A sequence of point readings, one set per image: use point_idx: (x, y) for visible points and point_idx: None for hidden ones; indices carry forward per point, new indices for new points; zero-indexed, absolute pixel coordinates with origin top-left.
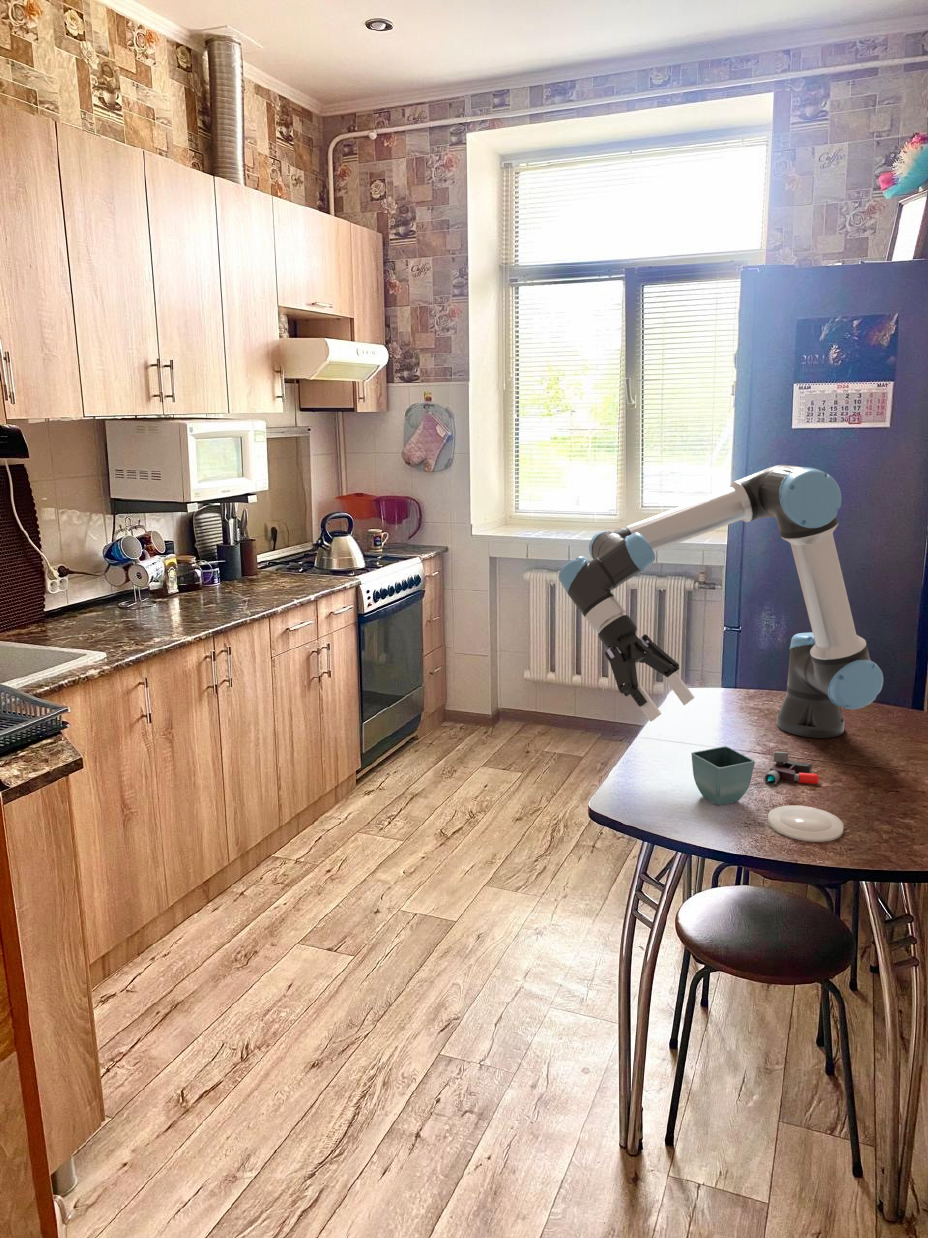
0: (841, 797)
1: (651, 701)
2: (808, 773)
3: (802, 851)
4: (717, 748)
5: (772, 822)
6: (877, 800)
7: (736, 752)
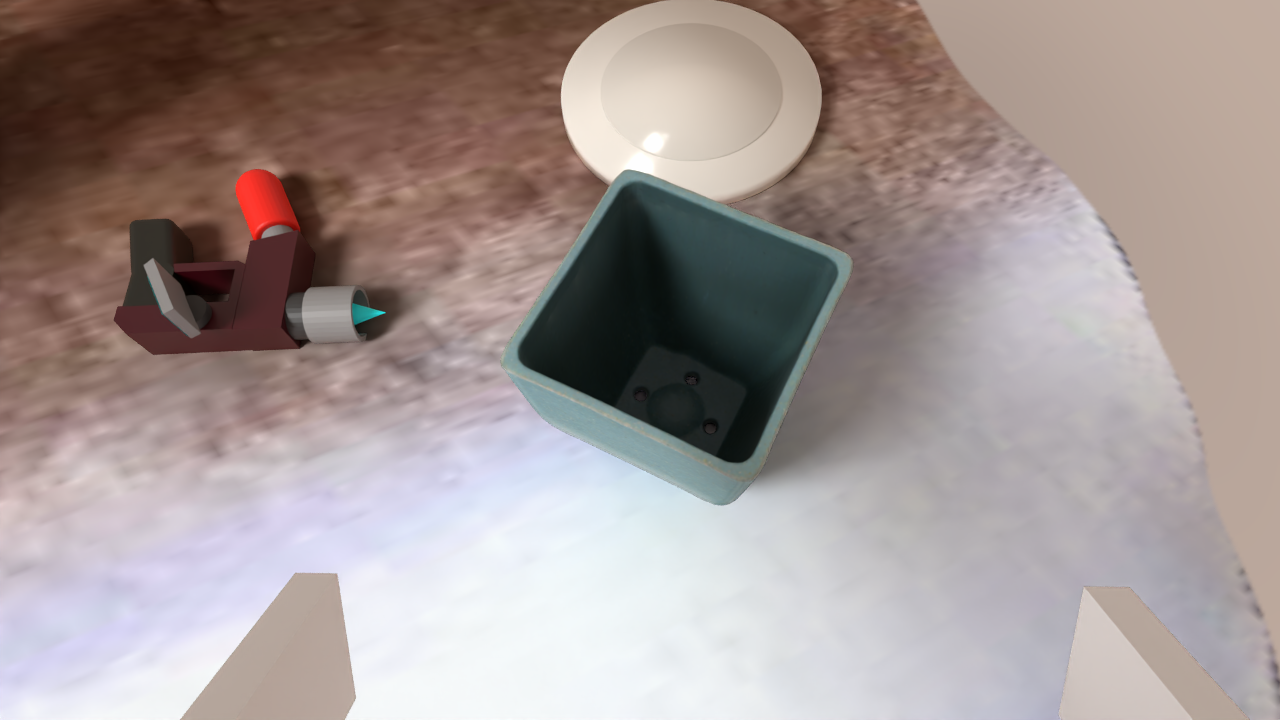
0: (363, 96)
1: (1226, 717)
2: (254, 194)
3: (882, 54)
4: (569, 387)
5: (791, 155)
6: (325, 17)
7: (560, 282)
